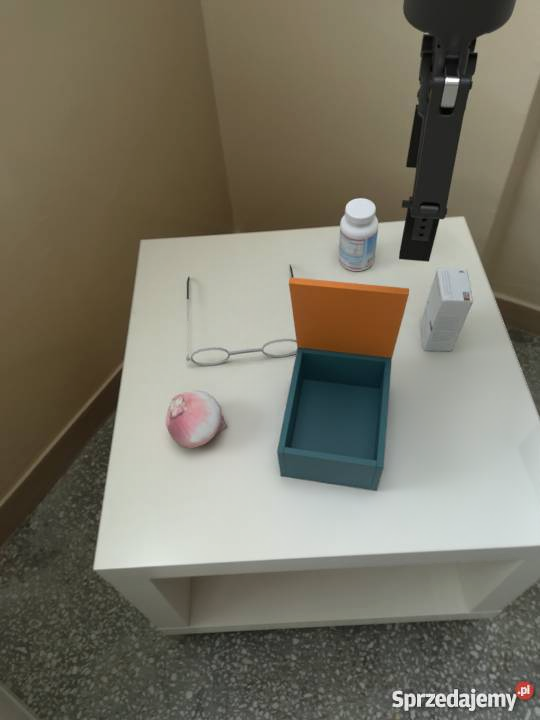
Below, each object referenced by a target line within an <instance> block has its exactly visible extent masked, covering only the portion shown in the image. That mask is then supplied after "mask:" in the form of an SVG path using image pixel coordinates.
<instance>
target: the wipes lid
mask: <svg viewBox="0 0 540 720" xmlns="http://www.w3.org/2000/svg"><path fill="white" fill-rule="evenodd" d="M288 287H289V288H288V289H289V295H290V300H291V301H290V302H291V310H292V318H293V326H294V333H295V340H296V341H297V343H296V347H297V348H298V347H300V348H309V349H317V350H326V351H335V352H344V353H352V354H361V355H370V356H379V357H387V358H392V359H393V356H394V352H395V348H396V345H397V341H398V337H399V334H400V329H401V327H402V323H403V322H402V321H403V318H404V314H405V311H406V306H407V303H408V299H409V295H410V288H408V287H398V286H388V285H377V284H376V285H375V284H365V283H355V282H343V281H332V280H322V279H311V278H300V277H294V278H292V277H291V276H290V277H289V280H288Z"/></svg>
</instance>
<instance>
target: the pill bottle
mask: <svg viewBox="0 0 540 720" xmlns="http://www.w3.org/2000/svg"><path fill="white" fill-rule="evenodd" d="M376 210H377V208H376V205H375V203H374V202H373V201H372V200H370V199H367V198H363V197H360V198H354V199H351V200H349V201H348V202H347V203H346V206H345V208H344V214H343V216H342V217H341V219H340V224H339V245H338V260H339V262H340V264H341V265H342V266H343V267H344V268H345V269H347V270H349V271H351V272H362V271H366V270H367V269H369V268H370V267H371V266H372V265H373V264H374V262H375V258H376V251H377V241H378V234H379V233H378V232H379V220H378V218H377V216H376Z"/></svg>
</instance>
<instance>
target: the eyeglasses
mask: <svg viewBox="0 0 540 720" xmlns="http://www.w3.org/2000/svg"><path fill="white" fill-rule="evenodd" d="M289 270H290V277H291V278H295V277H294V271H293V267H292V264H289ZM189 283H190V276H187V280H186V300H187V302H186V304H187V305H186V306H187V308H186V309H187V320H189V299H190V284H189ZM281 342H291V343H292V342H293V343H295V344H297V341H296V339H293V338H280V339H274V340H270V341H268V342H265V343H264V344H263V345H262V346H261V347H259V348H257V347H256V348H249V349H248V348H247V349H240V350H233V351H229V350H227V349H226V348H224V347H216V346H215V347H214V346H213V347H205V348H199V349H197V350H195V351H193V352H192V353H191V356H189V355H186V357H185V361H191V362H192V363H193V364H195V365H196V366H202V367H207V366H216V365H221V364H224V363H225V362H227V361H228V360H229V359H230V357H231V356H232V355H233V356H234V355H241V354H242V355H243V354H250V353H259V352H261V353H262V354H263V355H265V356H267V357H270V358H284V357H288V356H293V355H296V353H297V349H296V350H293V351H291V352H288V353H282V354H271V353H267V352H265V351H264V350H265V347H267V346H269V345H271V344H274V343H275V344H276V343H281ZM205 351H206V352H207V351H223V352H225V353H226V354H227V357H226V358H224V359H222V360H219V361H216V362H215V361H214V362H198V361H196V360H194V355H197V354H198V353H200V352H205Z"/></svg>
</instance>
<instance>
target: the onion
mask: <svg viewBox="0 0 540 720" xmlns="http://www.w3.org/2000/svg"><path fill="white" fill-rule="evenodd" d="M165 426H166V430H167V432H168V434H169V435H170V437H171V438H172V440H173V441H174V442H175V443H176V444H178V445H179V446H182V447H183V448H188V449H194V448H197V447H198V448H199V447H200V446H204V445H206V444H207V443H208V442H210V441H211V440H212V439H213V438H214V437H215V436H216V435H217V434H219V433H220V432H221V431H222V430H223V429H225V428H226V427H227V426H228V424H227V422H226V419H225V417H224V415H223V412H222V406H221V405H220V403H219V402H218V401H217V400H216V398H215V397H214V396H213V395H211V394H210V393H208V392H206V391H203V390H198V389H190V390H186V391H183V392H181V393H179V394H177V395H175V396H174V397H173V398H172V399H170V403H169V405H168V408H167V411H166V414H165Z"/></svg>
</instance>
